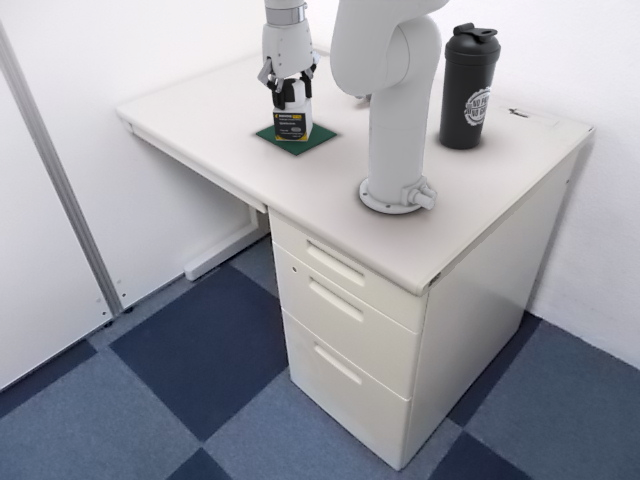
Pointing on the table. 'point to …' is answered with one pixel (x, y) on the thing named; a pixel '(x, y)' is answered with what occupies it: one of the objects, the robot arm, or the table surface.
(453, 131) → the water bottle
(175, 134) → the table surface
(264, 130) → the cutting mat
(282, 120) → the medicine bottle
